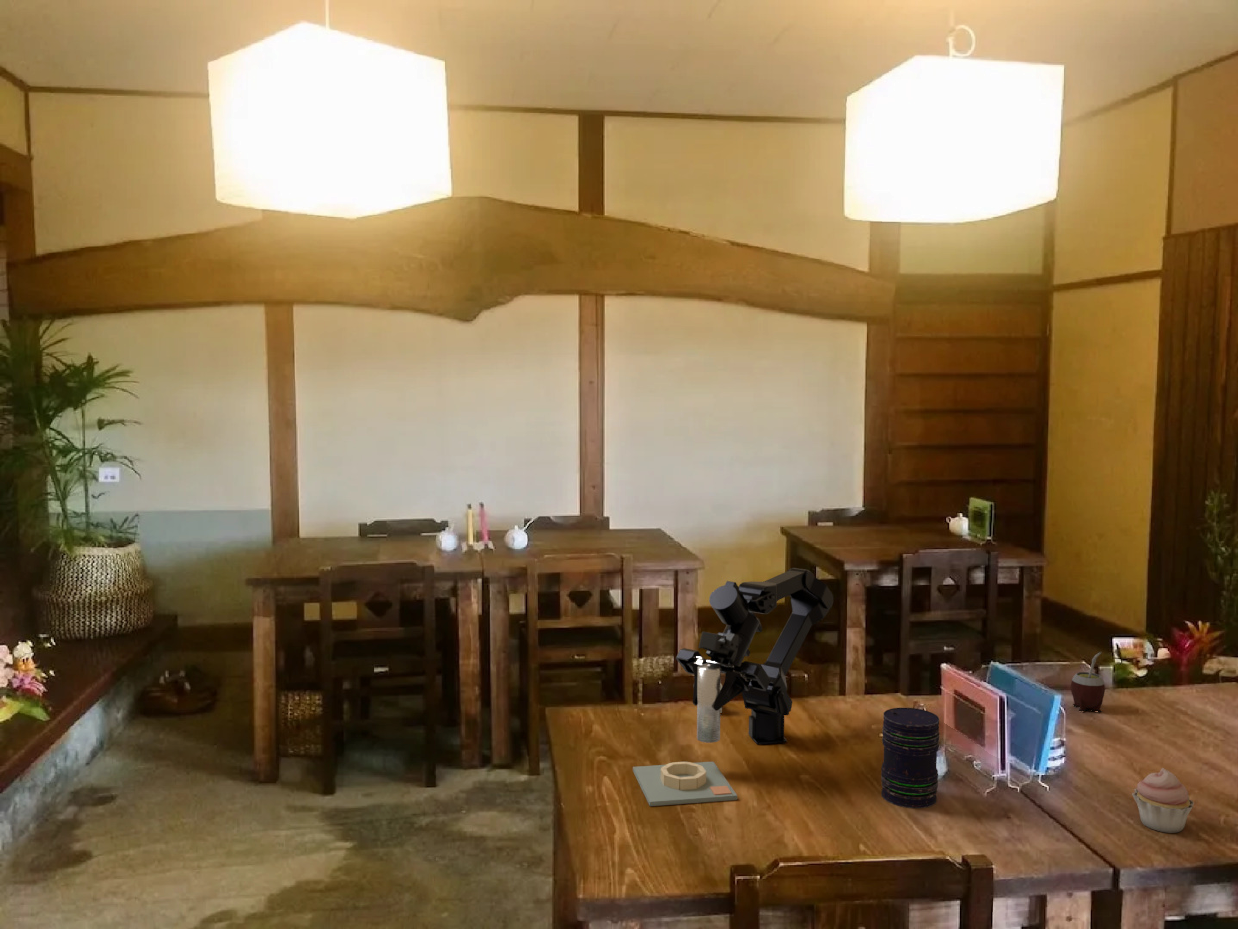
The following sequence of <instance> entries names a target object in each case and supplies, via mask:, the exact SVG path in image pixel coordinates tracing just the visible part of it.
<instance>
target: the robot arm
mask: <svg viewBox="0 0 1238 929" xmlns="http://www.w3.org/2000/svg"><path fill="white" fill-rule="evenodd" d="M786 597H789V598H790V606H791V614H790V616H789V618H788V620H787V622H786V624H785V625H784V627H783V629H782V631H781V633H780V635H779V637H778V638H777V640H776V642H775V644H774V646H773V648H772V649H771V651H770V653H769V655H768V657H767V659H766V661H765V662H764V663H756V662H751V661H747V660H744V658H745V657H749V656H750V655H751V651H750V649H749V648H750V645H751V643H752V641H753V639H754V636H755V634H756V632H757V633H762V632H763V626H762V624H761V619H760V618H758V617H757V616H756V614H761V615H768V614H769V613H771V612H772V611H773V610H775V609H776V608H777V606H778V604H777V603H778V602H779V601H780V600H782V599H784V598H786ZM708 601H709V605H710V606H711V608H712V609H713V611H714V612H715V614H716V615H717V617H718V618H719V620H720V621H721V622H722V623H723V624H724V625H726V626H725V628H724V630H723V632H718V633H712V632H707V631H702V632H701V635H700V639H699V640H700V641H699V645H698V648H699V649H703V650H706V652H705V654H706V655H707V657H709V658H710V659H706V658H704V657H703V656H702V654H701V653H700V651H699V650H697V649H691V648H687V647H684V648H681V649H680V650H679V651H678V652H677V654H676V656H675V660H676V661H677V662H678V663H679V665H680V666H681V668H682V669H683V670H684V671H685V673H687V674H689V675H694V676H693V678H694V680H693V681H694V682H693V684H694V687H693V693H692V694H693V695H692V704H693V705H694V706H697V670H698V666H699V665H701V664H715V665H719V666H720V667H721V674H724V675H725V676H724V683H723V684H722V689H721V691H720V693H719V695H718V697H717V699H716V702H715V705H714V709H715V711H718V710H719V709H720V708H721V707H722V708H723V707H724V706H725V705H726V704H728V703H729V702H730V701H732V700H733V699H734V698H736V697H737V696H739V695H740V694H741V695H742V699H743V700H742V701H743V705H744V708H745V709H746V710H748V709H749V710H750V711H751V712H750V713H751V715H749V716H748V733H747V734H748V735H749V736H750V737H751V739H752V740H753V741H754V743H756V745H770V744H771V745H772V744H782V743H784V744H786V743H787V742H788V740H787V738H786V737H785V716H788V715H790V712H792V707H793V700H792V698H791V697H790V696H789V694H788V693H787V691H788V685H787V679H786V676H787V675H788V674H787V673H788V671H789V670H790V668H791V667H792V664H793V663H794V662H793V661H795V658H796V656H797V654H798V652H799V651H800V649H801V647H802V645H803V644H804V642H805V639H806V637H807V635H808V633H809V631H810V630H811V628H812V626H813V625H815V624H817V623H819V622H820V621H821V620H824V618H825V617H826V616H827V614H828V613H829V611H830V610H831V608H832V607H833V604H834V595H833V593H832V591H831V590H830V589H829V586H828V585H827V584H826V583H824V582H823V581H821V580H820V579H819V578H817V577H816V576H815V575H814V573H813V572H812V571H810V570H809V569H804V568H797V567H791V568H789V569H788V570H787V571H785V572H782V573H780V574H777V575H776V576H773V577H771V578H768V579H767V580H765V581H743V582H741V583H740V584H739V585H738V583H737V582H736V581H729V580H727V581H726V582H725V584H724V585H721V586H718V587H717V588H716V589H714V591H712V592H711V593H710V594H709V599H708ZM755 613H756V614H755Z"/></svg>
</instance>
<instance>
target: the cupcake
mask: <svg viewBox="0 0 1238 929" xmlns="http://www.w3.org/2000/svg"><path fill="white" fill-rule="evenodd" d="M1133 791H1134V792H1133V793H1131V795H1132V797H1133V799H1134V801H1135V803H1136V804H1137V808H1138V813H1139V817H1140V821H1141V823H1142V824H1143V825H1144V826H1145V827H1146V828H1148V829H1151V830H1153V831H1158V832H1161V833H1169V834H1170V833H1171V834H1175V833H1180V832H1181V831H1183V830H1184V828H1185V826H1186V823H1187V820H1188V817H1189V816H1188V815H1189V814H1190V812H1191V811H1192V809H1193V808H1194V804H1195V802H1194V801H1193V800H1191V799H1190V797H1189V791H1188V790H1187V787H1186V786H1185V785H1184V784H1183V783H1181V782H1180V780H1179V779H1178V777H1177V776H1176V775H1175V774H1174V773H1173V772H1171V771H1169V770H1168V769H1165V768H1164V767H1162V768H1161V769H1160V771H1159V772H1152V773H1151V772H1150V773H1149V774H1148V775H1147V776H1146V777H1144V778H1143V779H1142V780H1140V781H1139V782H1138V783H1137V785H1136V788H1134V790H1133Z"/></svg>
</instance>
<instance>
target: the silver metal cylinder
mask: <svg viewBox="0 0 1238 929" xmlns="http://www.w3.org/2000/svg"><path fill="white" fill-rule="evenodd" d="M721 676H722V673H721V667H720V666H719V665H715V664H701V665H699V666H698V670H697V705H696V708H697V709H696V739H697V741H699V742H702V743H709V744H710V743H711V744H712V743H713V744H714V743H717V742H719V741H720V739H721V714H720V709H719V710H718V711H715V709H714V705H715V702H716V699H717V697H718V695H719V693H720V688H721V684H722V683H721V682H722V681H721Z"/></svg>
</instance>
